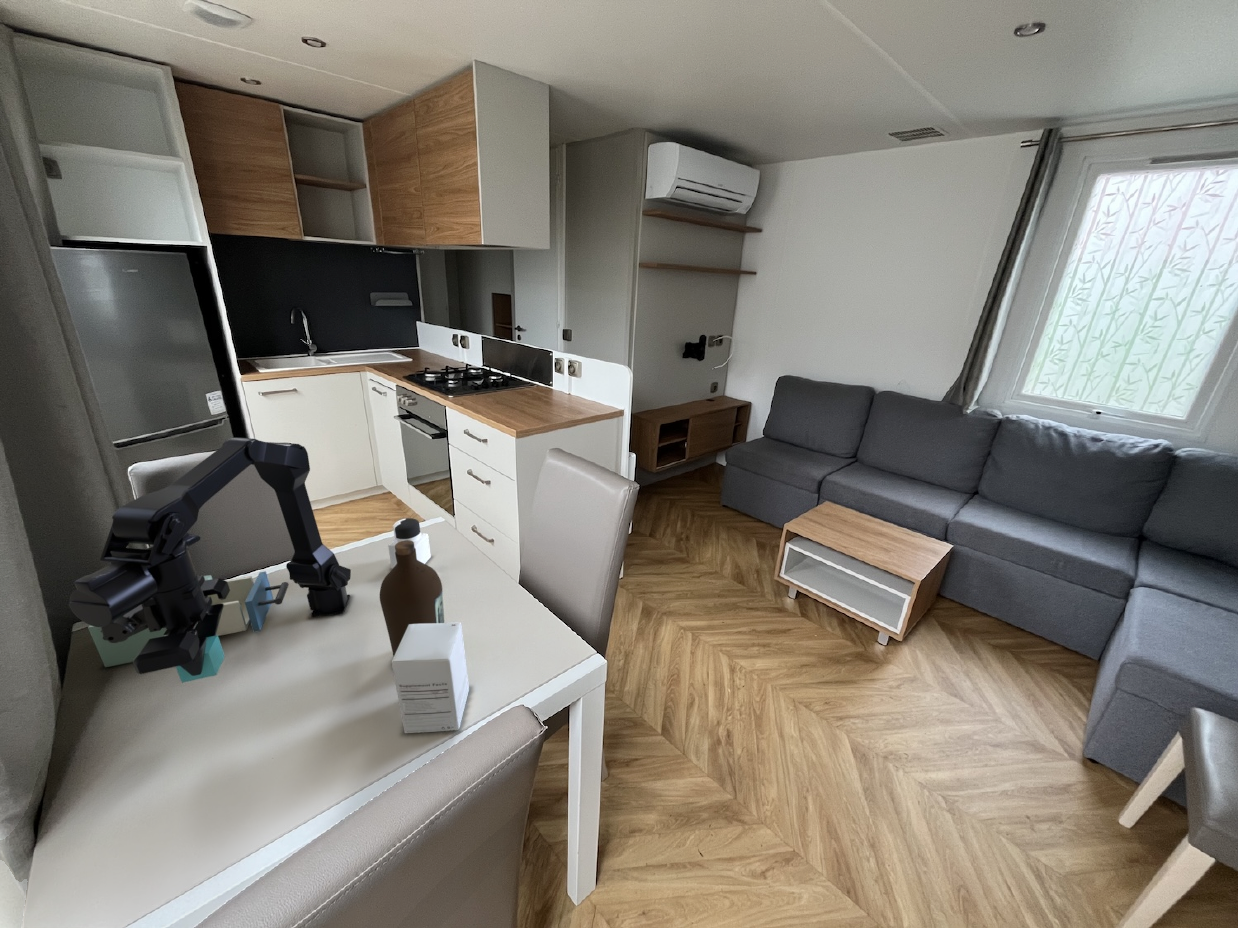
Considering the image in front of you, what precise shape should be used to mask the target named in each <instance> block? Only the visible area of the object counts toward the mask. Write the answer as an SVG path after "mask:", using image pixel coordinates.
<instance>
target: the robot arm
mask: <svg viewBox="0 0 1238 928" xmlns="http://www.w3.org/2000/svg"><path fill="white" fill-rule="evenodd" d="M309 459H310V458H309V453H308V451H307V449H306V447H305V446H303V445H301V444H300V443H289V442H271V441H263V440H259V439H256V438H249V437H231V438H228V439H226V440H225V441H224V442H223V443H222V446H221V447H219V448H218V449H217V450H215V451H213V453H211V454H209V456H207V457H206V458H205V459H203V460H202V461H201V462H199V463H198V464H197V465H195V466H194V467H192V468H191V469H190V470H188V471H187V472H186V473H185V474H183V475H182V476H181V477H179V478H178V479H176V481H174V482H173V483H171V484H170V485H168V486H166V487H164V488H162V489H158V490H155V491H152V492H149V493H146V494H143V495H141V496H139V497H137V498H135V499H133V500H131V501H129V502H128V503H125V504H124V505H122V506H120V507H119V508H118V509H117V510H116V511H115V512H114V513H113V515H112V517H111V519H112V522H111V523H112V524H111V526H110V529H109V532H108V535H107V538H106V541H105V543H104V547H103V549H102V552H101V555H100V557H99V561H100V562H101V563H109V564H108V565H106V566H104V567H103V568H101V569H98V570H96V571H95V572H92V573H90V574H86V575H84V576H82V577H79V578H78V579H76V580H75V581H74V585H75V588H76V589H75V590H74V591H72V593H71V594H70V596H69V603H68V606H69V608H70V610H71V611H72V613H73V614H74V615H75V616H76V617H77V619H79V620H80V621H82V622H83V623H85V624H87V625H89V626H90V625H91V626H95V627H101V629H102V630H101V631H100V632H102V633H103V639H104V640H106V641H109V642H110V643H118V642H122V641H125V640H127V639H128V637H131V636H132V635H135V634H137V633H139V632H141V631H143V630H145V629H147V628H149V631H150V632H155V631H160V630H161V629H162V628H166V629H167V630H166V631H165V633H164V634H163V637H157V638H152V639H149V640H148V641H147V642H146V644H145V645H144V646H143V647H142V649H141V650H140V652H139V653H138V655H137V656H136V657H135V659H134V660H133V662H132V664H133V667H134V669H135V672H136V673H137V674H139V675H143V674H148V673H151V672H152V673H153V672H157V671H162V670H167V669H171V668H176V666H181V667H182V668H183V669H184V670H186V671H187V672H188V673H189V674H191V675H192V676H196V675H200V674H201V673H202V668H203V662H204V655H205V648H206V641H207V637H211V636H216V633H217V629H218V625H219V621H220V617H221V613H222V610H223V607H224V604H216V605H213V604H212V599H211V597H208V595H214V594H217V596H218V599H220V600H223V599H226V597H227V595H228V593H229V592H230V589H229V586H228V582H227V581H225V580H226V579H225V580H224V579H222V578H220V577H218V578H212V579H211V580H205V578H204V576H205V575H204V574H200V575H198V573H197V571H196V569H195V565H194V563H193V560H192V556H191V554H190V551H189V547H191V546H193V545H194V544H196V543H198V542H200V540H201V538H202V537H201V536H200V535H195V534H191V533H188V532H189V531H190V530H191V529H192V528H193V526H194V525H195V524H196V523H197V521H198V518H199V514H200V510H201V508H202V507H203V506H204V505H205V504H207V502H208V501H210V500H211V499H212V498H213V497H214V496H216V495H217V494H218V493H219V492H220V491H221V490H223V489H224V488H225V487H226V486H227V485H229V484H230V483H231V482H232V481H233V480H235V479H236V478H237V477H238V476H239V475H240V474H242V473H243V472H244V471H245V470H246V469H248V467H250V466H251V465H252V466H254V468H255V470H256V471H257V473H258V475H259V477H260V479H261V480H263V482H265V483H266V484H267V485H268V486H269V487H271V488H272V489H273V490H274V492H275V495H276V498H277V501H278V504H279V507H280V510H281V513H282V516H283V520H284V523H285V526H286V528H287V532H288V535H289V538H290V541H291V544H292V547H293V550H294V553H293V555H292V556H291V560H290V561H288V562H287V563H286V566H285V568H286V569H287V571H288V575H289V580H290V581H293V582H294V583H295V584H297V585H298V586H299V587H300V588H301V589H305V588H306V589H307V591H308V592H307V594H306V598H307V601H308V606H309V610H310V611H311V613H310V617H311V618H319V617H320V618H321V617H328V616H333V615H334V616H335V615H342V614H344V613H345V612H346V609H347V606H348V604H349V602H350V600H351V595H350V594H348V593H347V592H348V591H347V586H348V585H349V581H350V580H351V577H352V570H351V569H350V568H347V567H345V566H342V565H340V563H339V560H338V559H337V556H336V555H335V553H334V552H333V551H332V550H331V549H330V548H329V547H327V546H326V545H325V544H324V543H323V541H322V537H321V534H320V531H319V528H318V523H317V520H316V517H315V514H314V510H313V507H312V503H311V500H310V497H309V493H308V489H307V486H306V481H307V478H308V475H309V474H310V472H311V467H310V460H309ZM129 544H138V545H150V546H149V547H146V548H133V547H128V546H129Z"/></svg>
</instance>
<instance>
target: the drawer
mask: <svg viewBox="0 0 1238 928" xmlns="http://www.w3.org/2000/svg"><path fill="white" fill-rule="evenodd" d="M225 581H227V582H228V586H229V589H230V592H229V593H228V595H227V597H226V599H223V600H220V599H218V596H217V594H214V595H208V597H211V599H212V604H213V605H216V604H224V607H223V610H222V613H221V617H220V621H219V625H218V629H217V633H216V635H218V637H219V636H224V635H230V634H234V633H239V632H245V631H247V630H248V627H249V625H251V629H252V632H253V633H257V632H261V630H262V628H263V625H264V623H265V620H266V619H267V616H268V613H269V610H270V609H271V606H272V604H275V605H281V604H283V601H284V598H285V595H286V593H287V591H288V588H289V585H290V584H289V582H287V581H284V582H281V584H276V585H272V586H271V584H270V581H269V578H268V574H267V571H266V570H265V571H260V572H259V573H258V575H257V576H256V578H255V581H254V579H253V576H252V575H250V576H243V577H237V578H231V579H225ZM274 590H278V591H277V592H276V593H277V594H276V596H275V598H274V596H273V593H272V591H274Z"/></svg>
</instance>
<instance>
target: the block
mask: <svg viewBox="0 0 1238 928" xmlns="http://www.w3.org/2000/svg"><path fill="white" fill-rule="evenodd" d="M222 646H223V645H222V644H221V641H220V637H219V636H218V635H216V636H211V637H207V641H206V648H205V655H204V662H203V668H202V673H201V674H200V675H196V676H192V675H191V674H189V673H188V672H187V671H186V670H184V669H183V668H182V667H181V666H176V667H175V668H176V669H175V670H176V671H177V674H178V676H179V679H180V682H181V683H182V684H183V683H187V682H193V681H196V680H200V679H201V680H202V679H205V678H209V677H214V676H217V675H218V673H219V670H220V668H221V666H222V663H224V659H225V657H226V654H225V653H224V649H223V647H222Z"/></svg>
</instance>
